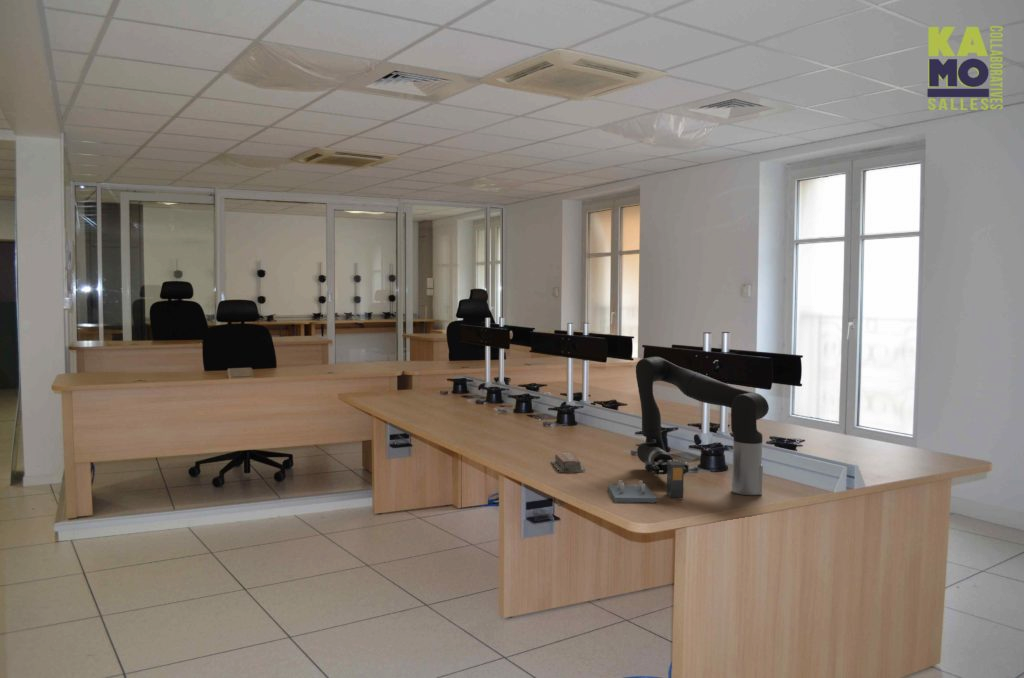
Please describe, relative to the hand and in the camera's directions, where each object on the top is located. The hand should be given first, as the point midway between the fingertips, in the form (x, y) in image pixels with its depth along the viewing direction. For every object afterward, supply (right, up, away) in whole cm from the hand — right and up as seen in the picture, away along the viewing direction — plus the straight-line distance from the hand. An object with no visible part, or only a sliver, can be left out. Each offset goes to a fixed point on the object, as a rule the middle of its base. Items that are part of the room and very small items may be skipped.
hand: (670, 471), depth 252 cm
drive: (0, -7, -6) cm, 9 cm away
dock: (-14, -7, -7) cm, 17 cm away
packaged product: (-32, -5, +35) cm, 48 cm away
